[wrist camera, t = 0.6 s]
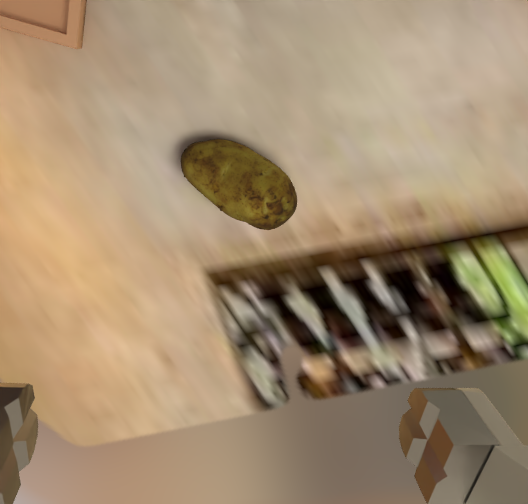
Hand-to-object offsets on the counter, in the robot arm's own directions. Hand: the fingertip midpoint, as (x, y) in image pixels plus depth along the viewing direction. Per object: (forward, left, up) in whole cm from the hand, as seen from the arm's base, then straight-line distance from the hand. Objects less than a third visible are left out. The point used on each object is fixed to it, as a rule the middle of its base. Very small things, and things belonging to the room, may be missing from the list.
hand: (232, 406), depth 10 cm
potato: (+7, +5, -44) cm, 45 cm away
